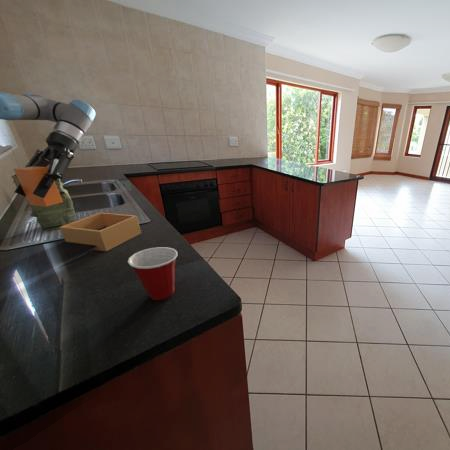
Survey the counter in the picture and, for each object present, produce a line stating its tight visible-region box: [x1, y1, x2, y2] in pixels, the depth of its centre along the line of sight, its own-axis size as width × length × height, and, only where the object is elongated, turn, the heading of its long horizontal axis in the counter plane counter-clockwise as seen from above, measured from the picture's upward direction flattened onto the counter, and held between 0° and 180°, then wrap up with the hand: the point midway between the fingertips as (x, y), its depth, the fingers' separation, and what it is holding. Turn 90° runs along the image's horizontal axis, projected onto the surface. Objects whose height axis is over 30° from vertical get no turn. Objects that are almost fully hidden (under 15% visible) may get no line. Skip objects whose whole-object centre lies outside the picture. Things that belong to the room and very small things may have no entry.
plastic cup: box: [127, 246, 179, 301], centre depth 62 cm, size 11×11×12 cm
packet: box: [13, 166, 63, 206], centre depth 78 cm, size 7×5×12 cm
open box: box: [59, 212, 142, 252], centre depth 92 cm, size 18×16×8 cm
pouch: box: [11, 173, 77, 231], centre depth 97 cm, size 11×12×25 cm
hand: (29, 194), depth 76 cm, fingers closed on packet, 7 cm apart
